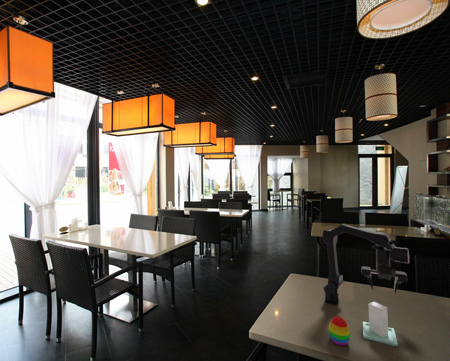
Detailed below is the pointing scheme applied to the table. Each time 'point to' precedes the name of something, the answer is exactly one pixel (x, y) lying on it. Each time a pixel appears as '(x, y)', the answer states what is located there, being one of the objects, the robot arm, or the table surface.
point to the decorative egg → (339, 331)
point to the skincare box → (378, 319)
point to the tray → (374, 337)
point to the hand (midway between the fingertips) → (383, 291)
